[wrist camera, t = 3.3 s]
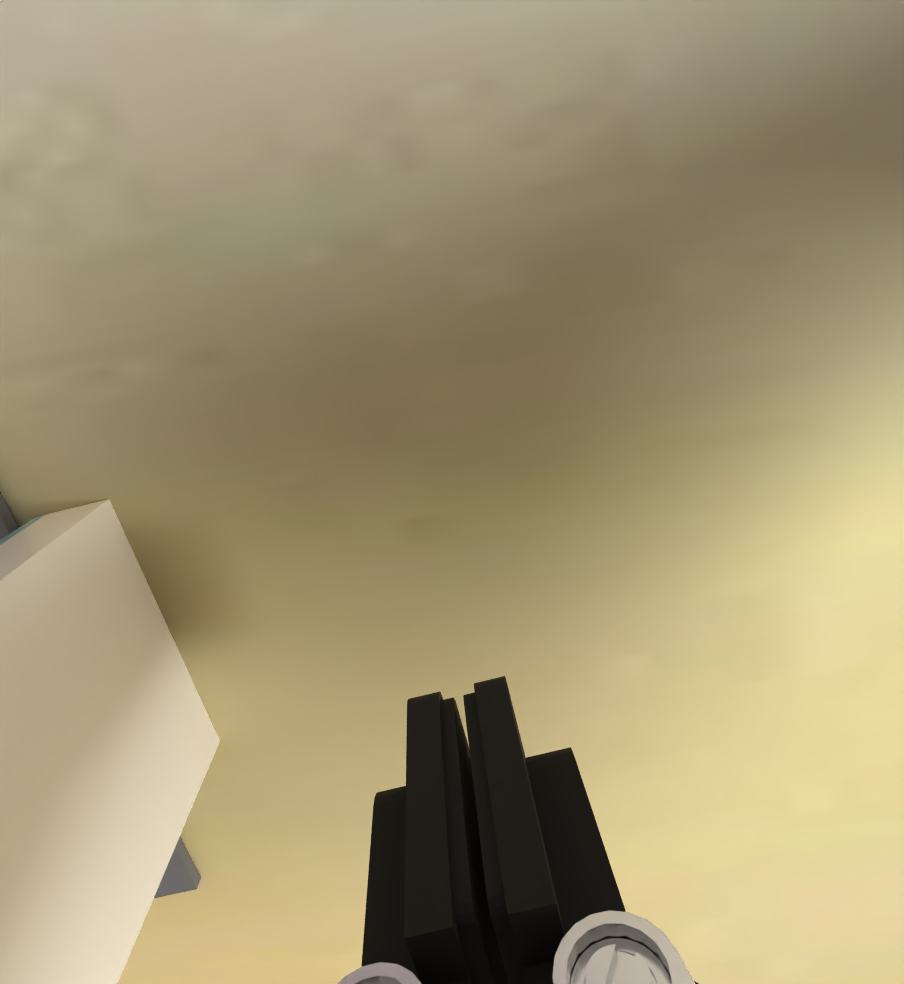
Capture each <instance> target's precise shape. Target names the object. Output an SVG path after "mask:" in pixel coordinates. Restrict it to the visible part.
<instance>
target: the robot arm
mask: <svg viewBox="0 0 904 984" xmlns="http://www.w3.org/2000/svg"><path fill="white" fill-rule="evenodd" d="M474 690H475V693H471V694H467V695H464V696H463V697H464V706H465V715H466V723H467V732H468V740H469V746H468V743H467V740H466V736H465V733H464V729H463V726H462V722H461V719H460V715H459V712H458V708H457V705H456V702H455V699H454V698H450V699H445V700H443V698H442V695H441V693H440V692H436V693H432V694H428V695H423V696H419V697H415V698H411V699H408V701H407V755H406V786H404V787H399V788H395V789H391V790H386V791H382V792H378V793H377V794H376V796H375V799H374V806H373V820H372V833H371V847H370V861H369V874H368V888H367V901H366V915H365V928H364V942H363V955H362V967H361V968H359V969H357V970H356V971H354V972H352V973H350V974H349V975H347V976H345V977H344V978H343V979H342V980H341V981H340V982H339V983H338V984H698V983H696V982H695V981H694V980H693V978H692V977H691V975H690V973H689V971H688V969H687V968H686V966H685V964H684V962H683V960H682V958H681V957H680V955H679V953H678V951H677V950H676V948H675V947H674V946H673V944H672V943H671V942H670V940H669V939H668V938H667V936H666V935H665V934H664V932H662V931H661V930H660V929H659V928H657V927H656V926H655V925H653V924H652V923H651V922H649V921H648V920H647V919H644V918H642V917H639V916H637V915H634V914H632V913H629V912H626V911H625V908H624V905H623V902H622V899H621V896H620V893H619V890H618V887H617V884H616V881H615V878H614V875H613V872H612V869H611V866H610V863H609V860H608V857H607V854H606V851H605V848H604V845H603V842H602V839H601V836H600V832H599V829H598V826H597V823H596V820H595V817H594V814H593V811H592V808H591V805H590V802H589V799H588V796H587V793H586V790H585V787H584V784H583V781H582V778H581V775H580V772H579V769H578V766H577V763H576V760H575V757H574V754H573V751H572V749H571V747H570V748H566V749H562V750H557V751H553V752H549V753H545V754H540V755H536V756H532V757H528V758H525V754H524V750H523V746H522V742H521V738H520V734H519V730H518V726H517V722H516V718H515V714H514V710H513V706H512V702H511V698H510V694H509V690H508V686H507V682H506V678H505V676H503V677H499V678H495V679H491V680H487V681H482V682H478V683H474ZM469 749H470V750H469Z"/></svg>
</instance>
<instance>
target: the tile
mask: <svg viewBox="0 0 904 984" xmlns="http://www.w3.org/2000/svg"><path fill="white" fill-rule="evenodd" d="M219 742H220V740H219V738H218V735H217V733H216V731H215V729H214V727H213V725H212V722H211V720H210V718H209V716H208V714H207V711H206V709H205V707H204V705H203V703H202V701H201V698H200V696H199V694H198V692H197V690H196V687H195V685H194V683H193V681H192V679H191V677H190V674H189V672H188V670H187V668H186V666H185V663H184V661H183V659H182V657H181V655H180V652H179V650H178V648H177V646H176V644H175V642H174V639H173V637H172V635H171V633H170V631H169V628H168V626H167V624H166V622H165V620H164V618H163V615H162V613H161V611H160V609H159V607H158V604H157V602H156V600H155V598H154V596H153V594H152V591H151V589H150V587H149V585H148V583H147V580H146V578H145V576H144V574H143V572H142V570H141V567H140V565H139V563H138V561H137V559H136V556H135V554H134V552H133V550H132V548H131V546H130V543H129V541H128V539H127V537H126V535H125V532H124V530H123V528H122V526H121V524H120V522H119V519H118V517H117V515H116V513H115V511H114V508H113V506H112V504H111V502H110V500H109V499H107V500H103V501H99V502H95V503H91V504H86V505H82V506H78V507H74V508H70V509H66V510H62V511H58V512H54V513H50V514H46V515H42V516H37V517H35V518H33V519H32V520H30V521H29V522H27V523H25V524H24V525H22V526H21V527H19V528H18V529H16V530H15V531H13V532H12V533H10V534H9V535H7V536H6V537H4V538H2V539H1V540H0V984H118V982H119V979H120V977H121V974H122V972H123V970H124V967H125V965H126V963H127V960H128V958H129V955H130V953H131V951H132V948H133V946H134V944H135V941H136V939H137V937H138V934H139V932H140V929H141V927H142V925H143V922H144V920H145V918H146V915H147V913H148V911H149V908H150V906H151V903H152V901H153V899H154V896H155V894H156V892H157V889H158V887H159V884H160V882H161V880H162V877H163V875H164V873H165V870H166V868H167V866H168V863H169V861H170V858H171V856H172V854H173V851H174V849H175V847H176V844H177V842H178V840H179V837H180V835H181V832H182V830H183V828H184V825H185V823H186V821H187V818H188V816H189V813H190V811H191V809H192V806H193V804H194V802H195V799H196V797H197V795H198V792H199V790H200V787H201V785H202V783H203V780H204V778H205V776H206V773H207V771H208V769H209V766H210V764H211V761H212V759H213V757H214V754H215V752H216V750H217V747H218V745H219Z"/></svg>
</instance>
